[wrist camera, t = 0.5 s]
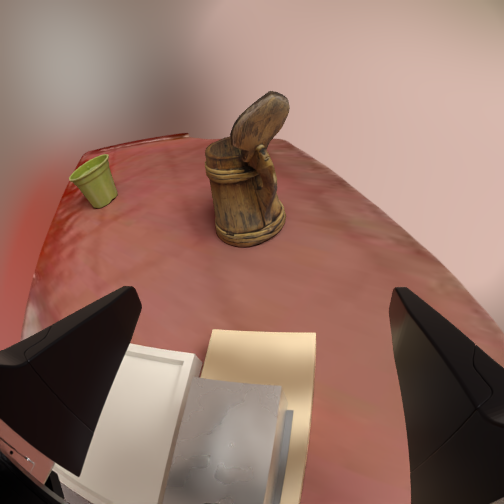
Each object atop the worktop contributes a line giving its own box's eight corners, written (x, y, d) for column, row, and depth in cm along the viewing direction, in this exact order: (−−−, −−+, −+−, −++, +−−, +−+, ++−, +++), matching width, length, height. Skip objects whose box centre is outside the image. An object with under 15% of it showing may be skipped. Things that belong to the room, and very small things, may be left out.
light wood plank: (285, 571, 9) (278, 590, 6) (183, 550, 11) (157, 561, 8) (316, 354, 22) (315, 330, 19) (226, 350, 24) (211, 327, 21)
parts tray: (163, 530, 12) (151, 533, 11) (48, 465, 16) (35, 461, 14) (202, 362, 24) (194, 353, 22) (89, 341, 27) (79, 332, 26)
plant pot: (90, 199, 55) (73, 168, 49) (125, 182, 56) (109, 149, 50) (85, 220, 48) (64, 186, 42) (124, 200, 50) (105, 163, 44)
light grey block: (267, 527, 10) (255, 543, 7) (189, 511, 11) (159, 517, 8) (287, 402, 16) (281, 385, 13) (214, 395, 17) (192, 376, 14)
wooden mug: (265, 281, 29) (219, 108, 17) (206, 225, 38) (160, 101, 26) (325, 238, 32) (312, 80, 19) (257, 195, 41) (229, 76, 28)
